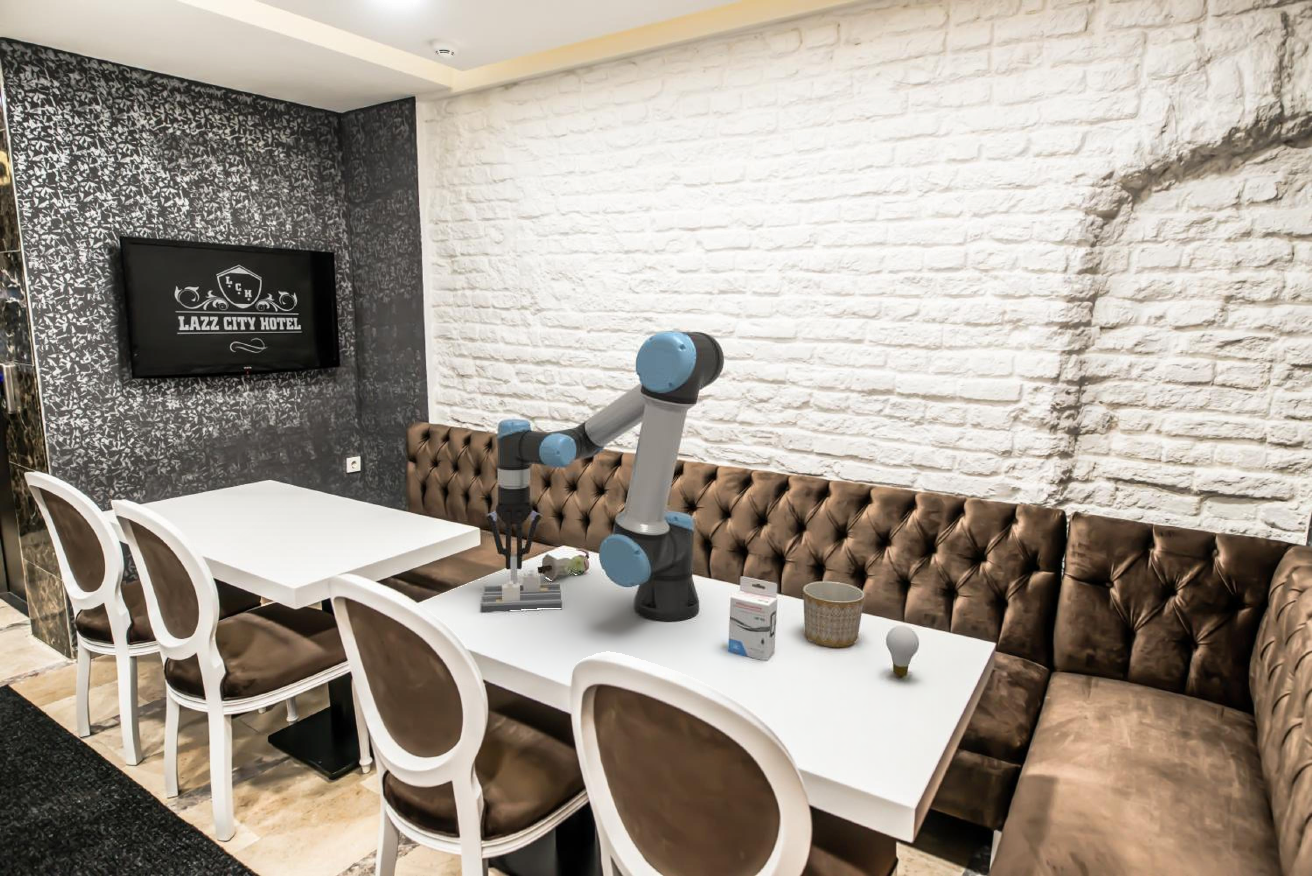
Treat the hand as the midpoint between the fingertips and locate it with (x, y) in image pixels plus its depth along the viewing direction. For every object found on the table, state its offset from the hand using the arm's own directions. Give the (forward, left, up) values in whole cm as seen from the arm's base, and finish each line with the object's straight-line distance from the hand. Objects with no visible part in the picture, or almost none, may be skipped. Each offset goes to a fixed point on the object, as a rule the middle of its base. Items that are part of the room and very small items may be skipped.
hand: (513, 581), depth 180 cm
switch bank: (-2, +4, -4) cm, 6 cm away
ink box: (-48, +37, -4) cm, 61 cm away
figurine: (-13, -13, -4) cm, 19 cm away
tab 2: (-4, 0, -2) cm, 5 cm away
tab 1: (0, +7, -2) cm, 8 cm away
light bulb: (-73, +51, -4) cm, 89 cm away
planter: (-67, +32, -4) cm, 74 cm away
